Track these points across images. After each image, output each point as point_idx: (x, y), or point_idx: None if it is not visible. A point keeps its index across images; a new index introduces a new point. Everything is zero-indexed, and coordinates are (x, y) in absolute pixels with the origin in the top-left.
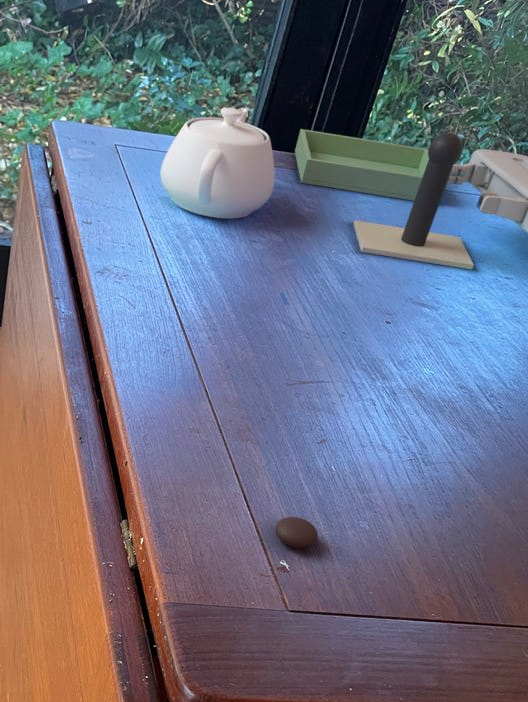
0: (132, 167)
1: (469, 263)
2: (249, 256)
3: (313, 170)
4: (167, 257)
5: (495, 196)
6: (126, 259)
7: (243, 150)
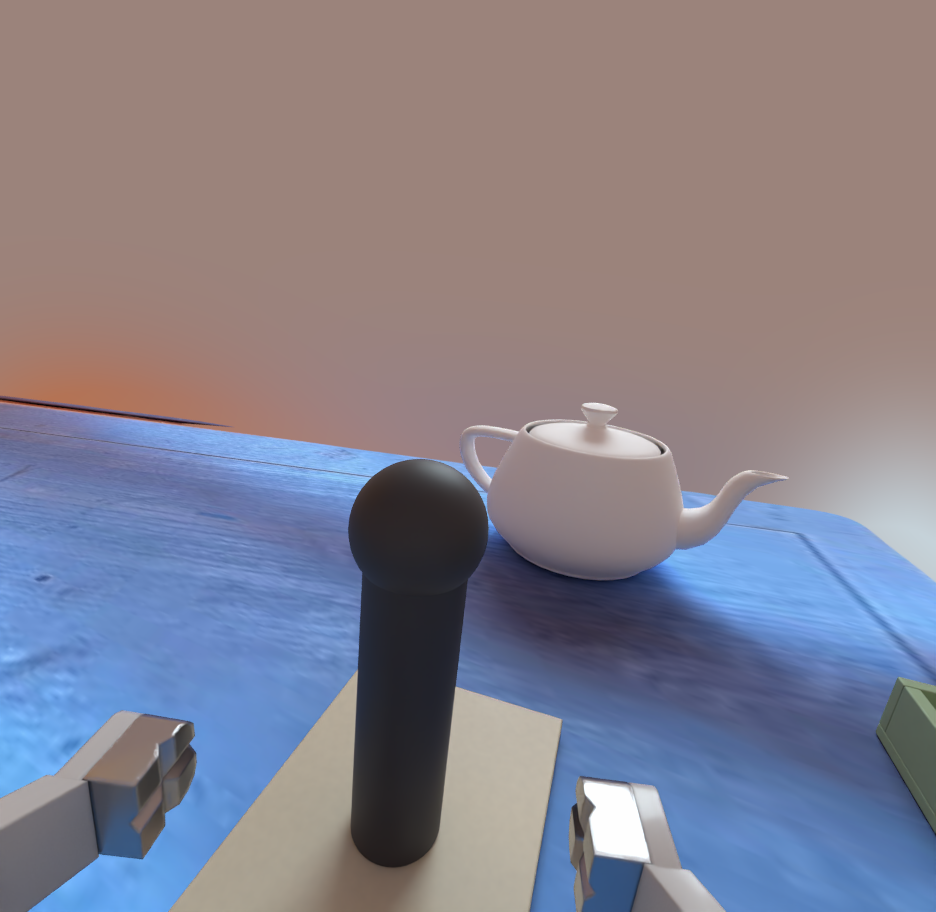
0: None
1: None
2: None
3: (900, 718)
4: None
5: (96, 748)
6: (371, 464)
7: (519, 438)
